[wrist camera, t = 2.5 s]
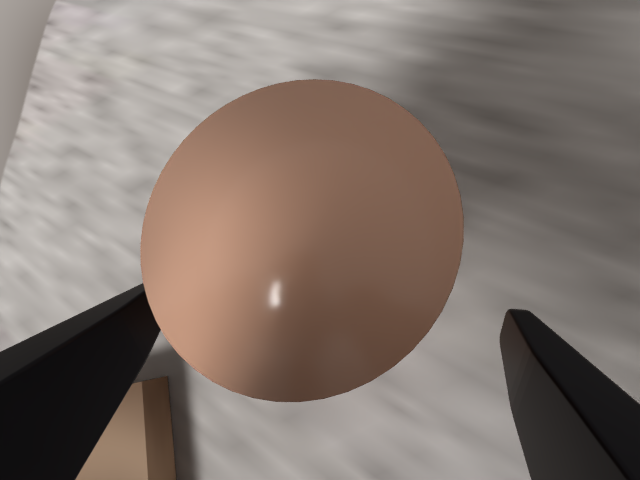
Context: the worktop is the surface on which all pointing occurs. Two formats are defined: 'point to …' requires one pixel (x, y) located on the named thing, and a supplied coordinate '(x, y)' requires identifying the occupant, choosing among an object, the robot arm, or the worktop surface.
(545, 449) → the robot arm
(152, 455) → the walnut stand
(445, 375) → the worktop surface
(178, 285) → the pink rounded glossy part
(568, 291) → the worktop surface
